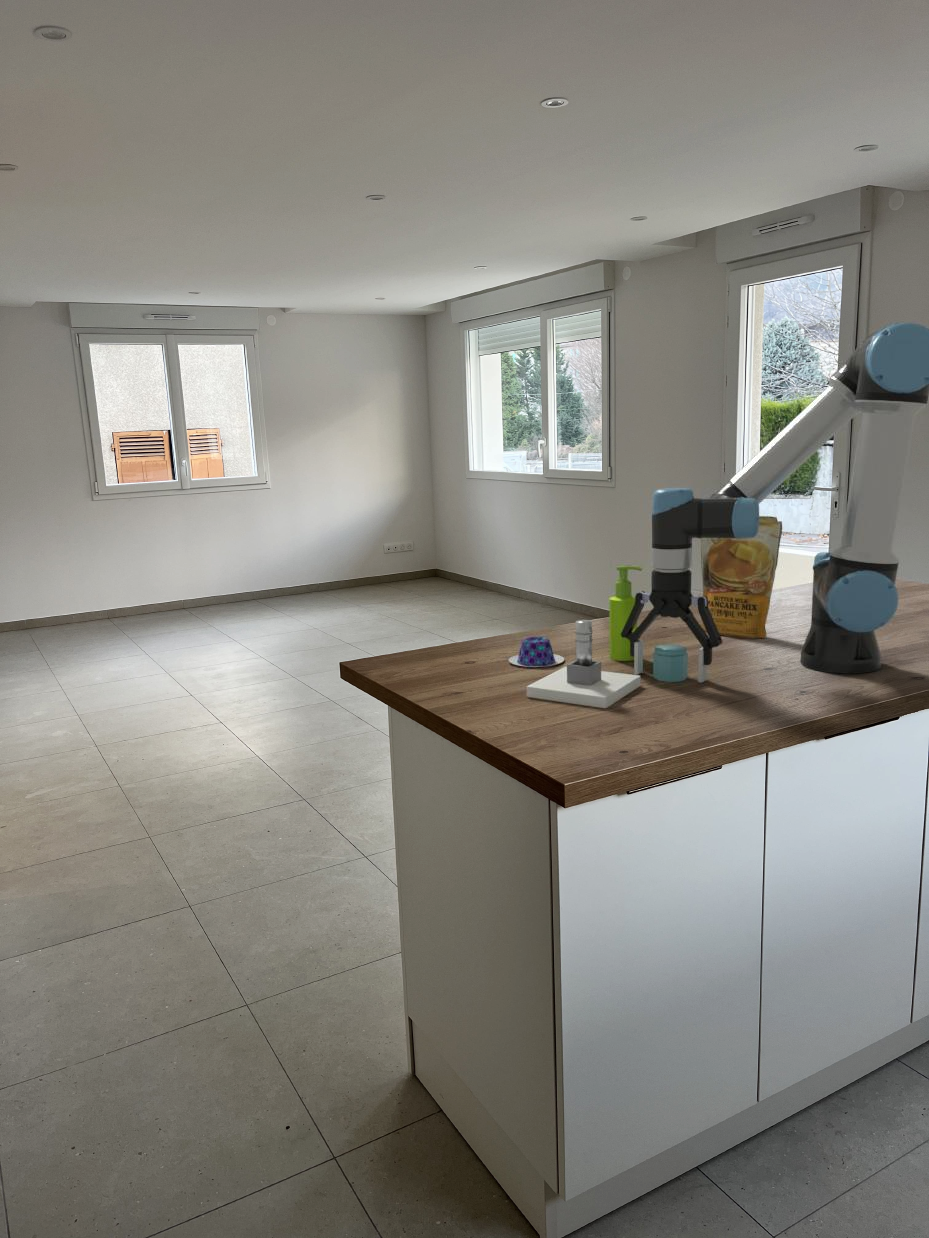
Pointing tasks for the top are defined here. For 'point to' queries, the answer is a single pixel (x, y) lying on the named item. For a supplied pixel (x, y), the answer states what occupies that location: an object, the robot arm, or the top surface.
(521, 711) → the top surface
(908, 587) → the top surface
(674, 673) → the cap
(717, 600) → the pancake mix bag
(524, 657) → the patterned brimmed hat
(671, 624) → the top surface
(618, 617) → the soap dispenser
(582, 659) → the post
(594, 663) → the post base
